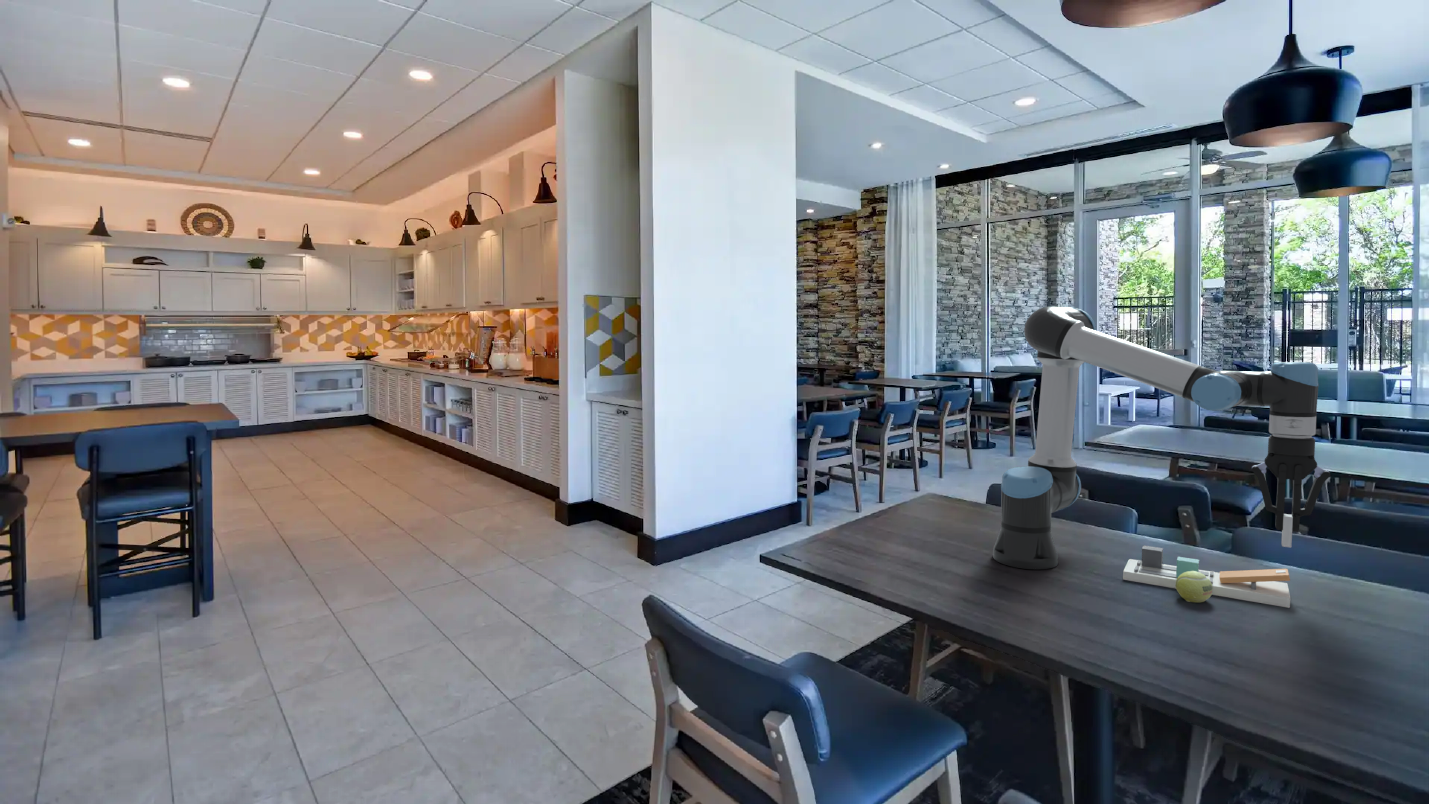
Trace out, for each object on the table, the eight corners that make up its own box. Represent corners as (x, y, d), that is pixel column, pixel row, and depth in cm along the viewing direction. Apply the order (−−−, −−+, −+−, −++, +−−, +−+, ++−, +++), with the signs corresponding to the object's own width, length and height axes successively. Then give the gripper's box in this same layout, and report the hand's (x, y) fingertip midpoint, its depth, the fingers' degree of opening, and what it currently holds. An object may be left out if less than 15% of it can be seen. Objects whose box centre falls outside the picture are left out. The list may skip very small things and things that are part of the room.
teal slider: (1176, 577, 154) (1176, 560, 154) (1177, 573, 157) (1177, 556, 156) (1197, 580, 152) (1198, 563, 152) (1198, 576, 154) (1199, 559, 154)
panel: (1122, 579, 160) (1123, 565, 160) (1128, 566, 169) (1129, 553, 168) (1289, 607, 142) (1290, 592, 141) (1286, 592, 150) (1287, 577, 150)
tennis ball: (1201, 576, 142) (1216, 570, 146) (1167, 572, 148) (1181, 566, 152) (1205, 607, 142) (1220, 599, 146) (1170, 601, 148) (1185, 595, 151)
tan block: (1220, 583, 151) (1219, 577, 151) (1221, 576, 155) (1219, 570, 155) (1290, 580, 143) (1288, 574, 143) (1288, 574, 147) (1287, 567, 147)
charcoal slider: (1141, 564, 163) (1142, 548, 163) (1142, 561, 165) (1143, 545, 165) (1161, 568, 161) (1162, 551, 160) (1162, 564, 163) (1163, 548, 163)
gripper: (1252, 435, 144) (1247, 544, 146) (1335, 439, 136) (1329, 555, 138) (1251, 431, 150) (1247, 536, 152) (1331, 435, 142) (1325, 546, 144)
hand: (1286, 545), depth 145 cm, fingers closed
